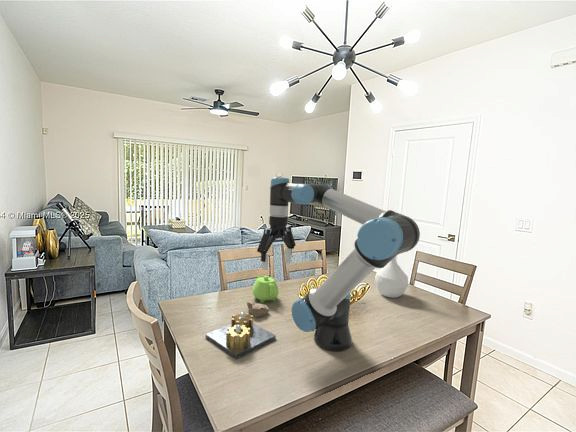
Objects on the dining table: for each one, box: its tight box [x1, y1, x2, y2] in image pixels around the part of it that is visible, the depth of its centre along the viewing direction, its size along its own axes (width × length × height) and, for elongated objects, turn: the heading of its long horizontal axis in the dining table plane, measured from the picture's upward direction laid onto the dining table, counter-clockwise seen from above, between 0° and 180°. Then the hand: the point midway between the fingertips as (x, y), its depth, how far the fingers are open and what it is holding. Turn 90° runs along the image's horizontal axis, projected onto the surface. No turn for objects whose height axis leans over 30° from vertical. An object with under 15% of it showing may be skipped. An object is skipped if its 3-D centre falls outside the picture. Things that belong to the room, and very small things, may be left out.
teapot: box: [252, 274, 279, 304], centre depth 163 cm, size 20×13×13 cm
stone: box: [246, 301, 270, 318], centre depth 147 cm, size 9×11×5 cm
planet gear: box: [226, 325, 250, 349], centre depth 117 cm, size 9×9×5 cm
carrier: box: [205, 311, 277, 360], centre depth 123 cm, size 20×20×8 cm
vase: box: [374, 256, 409, 299], centre depth 176 cm, size 18×18×30 cm
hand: (276, 266), depth 126 cm, fingers open, 13 cm apart
